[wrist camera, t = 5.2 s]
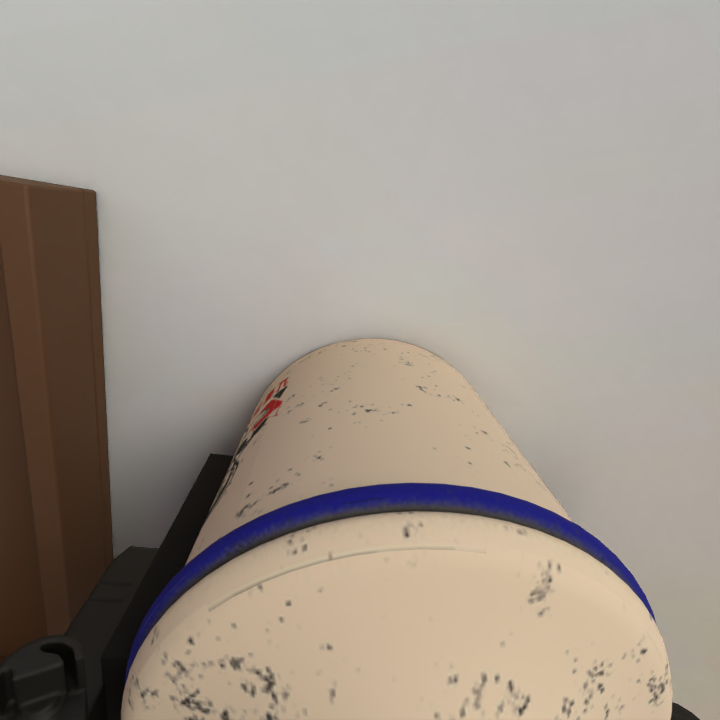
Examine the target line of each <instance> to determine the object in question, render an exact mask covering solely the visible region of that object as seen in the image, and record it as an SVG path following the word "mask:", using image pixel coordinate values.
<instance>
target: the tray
mask: <svg viewBox="0 0 720 720" xmlns="http://www.w3.org/2000/svg"><path fill="white" fill-rule="evenodd" d="M112 561H113V544H112V523H111V502H110V481H109V460H108V439H107V419H106V398H105V377H104V356H103V335H102V314H101V293H100V272H99V252H98V231H97V210H96V193H95V191H93V190H88V189H82V188H76V187H70V186H64V185H58V184H52V183H46V182H40V181H34V180H28V179H21V178H15V177H9V176H3V175H0V664H1V663H2V662H3V661H4V660H5V659H6V658H7V657H8V656H9V655H11V654H12V653H13V652H15V651H16V650H18V649H19V648H21V647H22V646H23V645H25V644H27V643H30V642H32V641H34V640H37V639H39V638H41V637H46V636H52V635H59V634H60V635H64V633H65V632H66V630H67V629H68V627H69V626H70V624H71V623H72V621H73V620H74V618H75V617H76V615H77V614H78V612H79V611H80V609H81V608H82V606H83V604H84V603H85V601H86V600H88V599H89V595H90V594H91V592H92V591H93V589H94V588H95V586H96V585H97V584H98V583H99V580H100V579H101V577H102V576H103V574H104V573H105V571H106V569H107V568H108V566H109V565H110V563H111V562H112Z"/></svg>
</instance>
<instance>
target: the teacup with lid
mask: <svg viewBox="0 0 720 720" xmlns="http://www.w3.org/2000/svg"><path fill="white" fill-rule="evenodd" d="M672 694H673V693H672V684H671V675H670V666H669V662H668V656H667V652H666V649H665V645H664V641H663V639H662V637H661V634H660V632H659V630H658V628H657V625H656V621H655V618H654V614H653V611H652V609H651V607H650V605H649V603H648V600H647V598H646V596H645V594H644V592H643V591H642V589H641V588H640V586H639V584H638V583H637V581H636V580H635V578H634V577H633V575H632V574H631V573H630V571H629V570H628V569H627V568H626V567H625V566H624V564H623V563H622V562H621V561H620V560H619V559H618V557H617V556H616V555H615V554H614V553H613V552H611V551H610V550H609V549H608V548H607V547H606V546H605V545H604V544H603V543H601V542H600V541H599V540H598V539H597V538H595V537H594V536H593V535H591V534H590V533H588V532H587V531H585V530H584V529H583V528H581V527H580V526H578V525H577V524H575V523H573V522H572V520H571V519H570V518H569V516H568V515H567V514H566V512H565V511H564V510H563V508H562V507H561V506H560V504H559V503H558V502H557V500H556V499H555V498H554V496H553V495H552V494H551V492H550V491H549V490H548V488H547V487H546V486H545V484H544V483H543V482H542V480H541V479H540V478H539V476H538V475H537V474H536V472H535V471H534V470H533V468H532V467H531V466H530V464H529V463H528V462H527V460H526V459H525V458H524V456H523V455H522V454H521V452H520V451H519V450H518V448H517V447H516V446H515V444H514V443H513V442H512V440H511V439H510V438H509V436H508V435H507V434H506V432H505V431H504V430H503V428H502V427H501V426H500V424H499V423H498V422H497V420H496V419H495V418H494V416H493V415H492V414H491V412H490V411H489V410H488V408H487V407H486V406H485V404H484V403H483V402H482V400H481V399H480V398H479V396H478V395H477V394H476V392H475V391H474V390H473V388H472V387H471V386H470V384H469V383H468V382H467V381H466V380H465V379H464V377H463V376H462V375H461V374H460V373H459V372H458V371H457V370H455V369H454V368H453V367H452V366H451V365H449V364H448V363H447V362H445V361H444V360H443V359H441V358H439V357H438V356H436V355H434V354H433V353H431V352H429V351H426V350H424V349H422V348H420V347H417V346H414V345H411V344H408V343H404V342H400V341H395V340H388V339H374V338H370V339H355V340H348V341H343V342H339V343H334V344H331V345H328V346H325V347H322V348H320V349H318V350H315V351H313V352H311V353H309V354H307V355H305V356H304V357H302V358H300V359H298V360H297V361H296V362H294V363H293V364H291V365H290V366H289V367H288V368H286V369H285V370H284V371H283V372H282V373H281V374H280V375H279V376H278V377H277V378H276V379H275V380H274V381H273V382H272V383H271V384H270V386H269V387H268V388H267V390H266V391H265V392H264V394H263V395H262V397H261V399H260V400H259V402H258V404H257V406H256V408H255V410H254V413H253V415H252V417H251V419H250V421H249V424H248V426H247V428H246V430H245V433H244V435H243V437H242V439H241V442H240V444H239V446H238V448H237V450H236V453H235V455H234V457H233V459H232V462H231V464H230V466H229V468H228V471H227V473H226V475H225V477H224V479H223V482H222V484H221V486H220V488H219V491H218V493H217V495H216V497H215V500H214V502H213V504H212V506H211V508H210V511H209V513H208V515H207V517H206V520H205V522H204V524H203V526H202V529H201V531H200V533H199V535H198V537H197V540H196V542H195V544H194V546H193V549H192V551H191V553H190V555H189V558H188V560H187V562H186V564H185V566H184V567H183V568H182V569H181V570H180V571H179V572H178V573H177V574H176V575H175V576H174V577H173V578H172V579H171V581H170V582H169V583H168V584H167V586H166V587H165V588H164V589H163V591H162V592H161V593H160V594H159V596H158V597H157V598H156V600H155V601H154V603H153V604H152V606H151V608H150V609H149V611H148V613H147V614H146V616H145V618H144V619H143V621H142V623H141V626H140V628H139V630H138V632H137V635H136V637H135V639H134V642H133V644H132V648H131V652H130V655H129V659H128V662H127V669H126V677H125V689H124V692H123V699H122V708H121V720H670V719H671V713H672Z"/></svg>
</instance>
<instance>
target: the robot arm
mask: <svg viewBox="0 0 720 720" xmlns="http://www.w3.org/2000/svg"><path fill="white" fill-rule="evenodd" d="M233 457H234V456H229V455H220V454H210V456H209V457H208V459H207V461H206V463H205V465H204V467H203V469H202V470H201V472H200V474H199V476H198V478H197V480H196V482H195V483H194V485H193V487H192V489H191V491H190V493H189V494H188V496H187V498H186V500H185V502H184V504H183V506H182V507H181V509H180V511H179V513H178V515H177V517H176V519H175V520H174V522H173V524H172V526H171V528H170V530H169V532H168V533H167V535H166V537H165V539H164V541H163V543H162V544H161V546H160V548H159V549H156V548H145V547H133V546H130V547H129V548H128V549H127V550H125V551H124V552H123V553H122V554H120V555H119V556H118V557H117V558H115V559H114V560H113V561H112V562H111V563H110V565H109V566H108V568H107V569H106V571H105V573H104V574H103V576H102V577H101V579H100V580H99V583H98V584H97V585H96V586H95V588H94V589H93V591H92V592H91V594H90V595H89V599H88V600H86V601H85V603H84V604H83V606H82V608H81V609H80V611H79V612H78V614H77V615H76V617H75V618H74V620H73V621H72V623H71V624H70V626H69V627H68V629H67V630H66V632H65V633H64V635H60V634H59V635H52V636H46V637H41V638H39V639H37V640H34V641H32V642H30V643H27V644H25V645H23V646H22V647H21V648H19V649H18V650H16V651H15V652H13V653H12V654H11V655H9V656H8V657H7V658H6V659H5V660H4V661H3V662H2V663H1V664H0V720H121V708H122V699H123V692H124V689H125V677H126V669H127V662H128V659H129V655H130V652H131V648H132V644H133V642H134V639H135V637H136V635H137V632H138V630H139V628H140V626H141V623H142V621H143V619H144V618H145V616H146V614H147V613H148V611H149V609H150V608H151V606H152V604H153V603H154V601H155V600H156V598H157V597H158V596H159V594H160V593H161V592H162V591H163V589H164V588H165V587H166V586H167V584H168V583H169V582H170V581H171V579H172V578H173V577H174V576H175V575H176V574H177V573H178V572H179V571H180V570H181V569H182V568H183V567H184V566H185V564H186V562H187V560H188V558H189V555H190V553H191V551H192V549H193V546H194V544H195V542H196V540H197V537H198V535H199V533H200V531H201V529H202V526H203V524H204V522H205V520H206V517H207V515H208V513H209V511H210V508H211V506H212V504H213V502H214V500H215V497H216V495H217V493H218V491H219V488H220V486H221V484H222V482H223V479H224V477H225V475H226V473H227V471H228V468H229V466H230V464H231V462H232V459H233ZM670 720H700V719H698V718H697V717H696V716H695V715H694V714H693V713H692V712H690V711H688V710H687V709H685V708H683V707H682V706H680V705H678V704H676V703H673V702H672V713H671V719H670Z"/></svg>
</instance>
